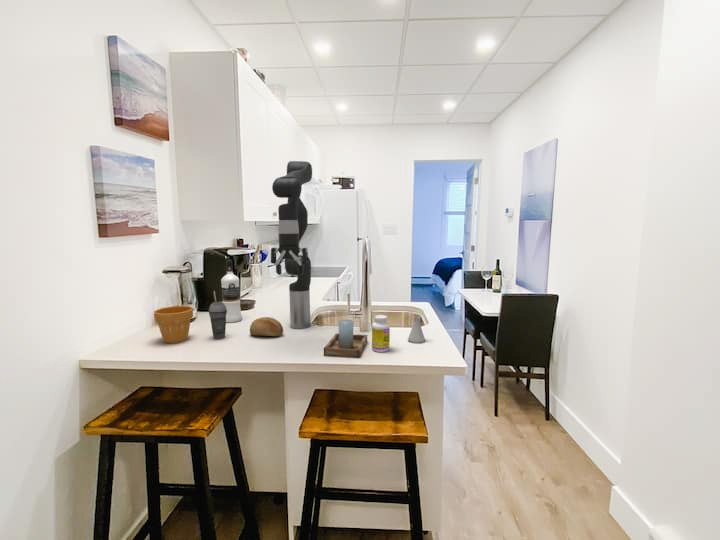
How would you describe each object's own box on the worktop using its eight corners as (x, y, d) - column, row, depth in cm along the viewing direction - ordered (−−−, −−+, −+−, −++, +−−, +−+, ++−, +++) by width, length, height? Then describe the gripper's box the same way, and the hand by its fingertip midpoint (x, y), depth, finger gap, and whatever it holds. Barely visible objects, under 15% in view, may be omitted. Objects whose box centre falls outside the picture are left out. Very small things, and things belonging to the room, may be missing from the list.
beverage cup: (222, 340, 149) (219, 293, 146) (206, 339, 150) (203, 292, 148) (231, 335, 156) (229, 289, 154) (216, 334, 158) (213, 289, 155)
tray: (336, 340, 149) (336, 333, 149) (367, 341, 147) (367, 335, 146) (323, 355, 131) (323, 348, 131) (358, 358, 129) (358, 350, 129)
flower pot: (200, 339, 151) (198, 309, 149) (163, 348, 140) (161, 315, 139) (186, 332, 160) (184, 304, 159) (151, 340, 150) (148, 309, 148)
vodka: (241, 317, 186) (238, 259, 182) (242, 322, 177) (239, 261, 174) (222, 319, 183) (219, 259, 179) (222, 323, 174) (218, 261, 171)
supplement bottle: (384, 353, 133) (384, 319, 131) (368, 350, 137) (368, 317, 135) (392, 348, 139) (392, 315, 137) (377, 345, 142) (377, 313, 141)
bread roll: (277, 340, 150) (276, 321, 149) (244, 338, 153) (243, 319, 152) (287, 333, 159) (286, 315, 158) (255, 331, 162) (254, 314, 161)
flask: (427, 339, 150) (428, 315, 148) (422, 344, 143) (423, 319, 142) (410, 337, 153) (410, 313, 151) (405, 342, 146) (405, 318, 145)
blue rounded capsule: (340, 344, 141) (340, 319, 140) (354, 345, 140) (354, 320, 139) (337, 349, 136) (337, 323, 134) (351, 350, 135) (352, 324, 133)
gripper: (309, 232, 140) (310, 273, 142) (275, 232, 142) (276, 273, 144) (303, 232, 132) (304, 276, 135) (266, 232, 135) (268, 275, 137)
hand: (290, 274), depth 139 cm, fingers open, 8 cm apart
